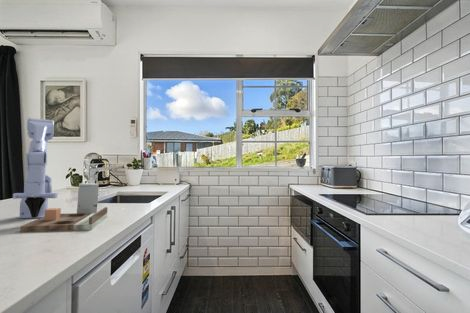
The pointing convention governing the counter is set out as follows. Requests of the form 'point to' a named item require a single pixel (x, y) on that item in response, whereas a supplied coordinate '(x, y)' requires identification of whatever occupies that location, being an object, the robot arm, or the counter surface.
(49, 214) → the terracotta block
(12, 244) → the counter surface
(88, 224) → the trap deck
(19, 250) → the counter surface
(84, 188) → the skincare box
